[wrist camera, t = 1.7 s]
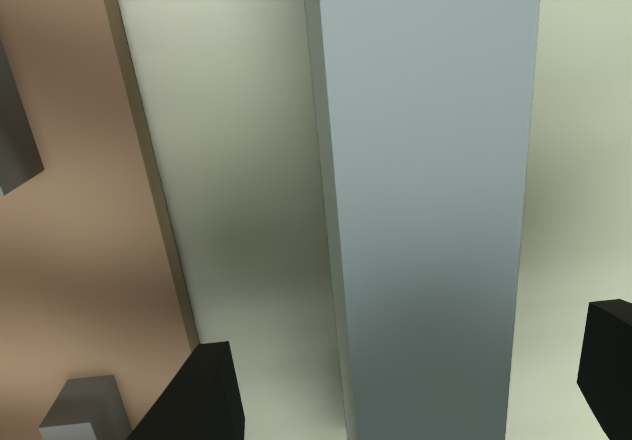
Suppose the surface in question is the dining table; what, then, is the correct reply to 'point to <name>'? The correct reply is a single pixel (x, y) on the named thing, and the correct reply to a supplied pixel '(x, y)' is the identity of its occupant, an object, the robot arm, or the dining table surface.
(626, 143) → the dining table surface
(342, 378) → the door panel
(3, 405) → the hinge rail
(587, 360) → the robot arm
